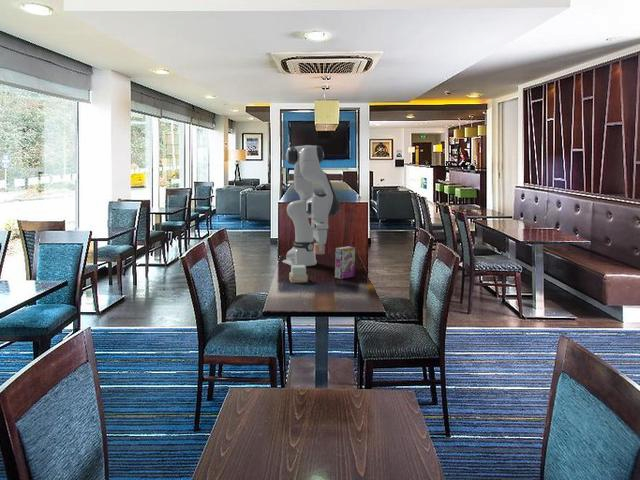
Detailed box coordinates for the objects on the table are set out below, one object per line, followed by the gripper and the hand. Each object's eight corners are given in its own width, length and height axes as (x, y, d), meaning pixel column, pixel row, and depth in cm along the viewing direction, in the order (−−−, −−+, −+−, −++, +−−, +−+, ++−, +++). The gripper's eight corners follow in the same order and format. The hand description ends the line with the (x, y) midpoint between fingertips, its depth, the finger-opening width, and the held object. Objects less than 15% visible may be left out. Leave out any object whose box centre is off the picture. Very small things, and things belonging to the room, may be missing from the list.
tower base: (289, 279, 299) (289, 272, 298) (305, 279, 300) (305, 271, 300) (291, 283, 291) (291, 275, 290) (307, 282, 292) (307, 275, 291)
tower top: (291, 272, 298) (291, 265, 297) (304, 272, 299) (304, 264, 298) (292, 275, 291) (292, 267, 290) (306, 274, 292) (306, 267, 291)
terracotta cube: (313, 252, 299) (313, 243, 298) (323, 252, 299) (323, 243, 299) (315, 254, 294) (315, 244, 293) (324, 254, 295) (324, 244, 294)
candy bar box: (341, 279, 298) (341, 249, 295) (334, 278, 301) (334, 248, 299) (355, 276, 305) (355, 246, 303) (348, 275, 309) (348, 245, 306)
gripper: (310, 221, 304) (310, 246, 306) (316, 226, 284) (316, 253, 286) (322, 221, 305) (321, 246, 307) (329, 226, 285) (328, 253, 287)
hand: (319, 249), depth 296 cm, fingers closed on terracotta cube, 5 cm apart
